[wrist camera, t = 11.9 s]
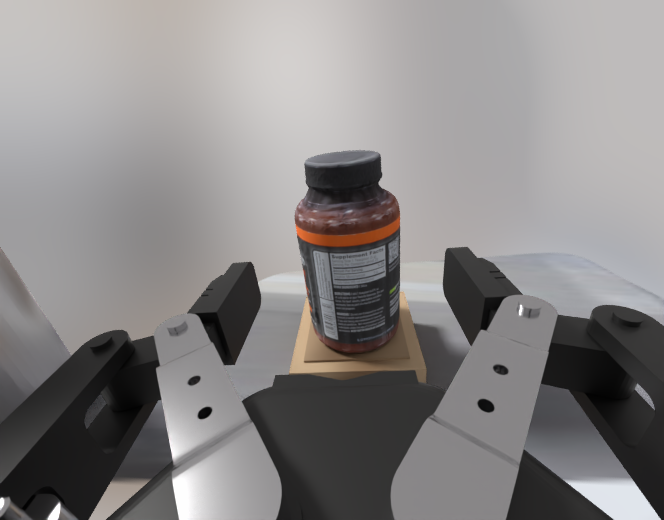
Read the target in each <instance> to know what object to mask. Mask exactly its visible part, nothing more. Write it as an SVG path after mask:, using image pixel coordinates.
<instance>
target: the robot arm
mask: <svg viewBox="0 0 664 520" xmlns="http://www.w3.org/2000/svg"><path fill="white" fill-rule="evenodd" d="M443 290H444V295H445V297H446V299H447V301H448V303H449V305H450V307H451V309H452V311H453V313H454V315H455V317H456V319H457V320H458V322H459V324H460V326H461V328H462V330H463V332H464V334H465V336H466V338H467V340H468V342H469V343H470V345H471V348H470V350H469V352H468V354H467V355H466V357H465V359H464V361H463V363H462V364H461V366H460V368H459V370H458V372H457V373H456V375H455V377H454V379H453V381H452V382H451V384H450V386H449V388H448V390H447V391H445V390H443V389H441V388H438V387H436V386H433V385H430V384H427V383H423V382H418V379H417V375H416V371H415V370H406V371H380V372H376V373H372V374H368V375H364V376H360V377H356V378H352V379H348V380H338V379H333V378H327V377H322V376H316V375H311V374H297V375H275V379H274V383H273V386H272V387H269V388H266V389H264V390H261V391H259V392H256V393H254V394H252V395H251V396H249V397H247V398H246V399H244V400H243V401H241V399H240V397H239V395H238V393H237V391H236V389H235V387H234V385H233V383H232V381H231V379H230V377H229V375H228V373H227V370H226V368H225V366H224V365H235V363H236V360H237V358H238V356H239V354H240V351H241V349H242V347H243V345H244V342H245V340H246V338H247V335H248V333H249V331H250V329H251V326H252V324H253V322H254V320H255V317H256V315H257V313H258V311H259V308H260V305H261V294H260V289H259V285H258V281H257V277H256V274H255V269H254V266H253V264H252V263H251V262H243V263H233V264H232V265H231V266H230V267H229V269H228V270H227V271H226V273H225V274H224V275H221V276H219V277H218V278H216V279H215V280H214V281H212V282H211V283H210V285H209V286H208V287H207V289H206V291H204V292H203V293H202V295H201V297H199V299H198V300H197V301H196V302H195V304H194V305H193V306H192V308H191V309H190V310H189V311H188V313H187V314H181V315H177V316H175V317H172V318H170V319H168V320H166V321H165V322H163V323H162V324H160V325H159V326H158V327H157V329H156V330H155V332H154V336H150V337H146V338H143V339H139V340H135V341H131V339H130V337H129V335H128V333H127V332H126V331H123V330H114V331H110V332H106V333H103V334H101V335H98V336H96V337H94V338H92V339H91V340H89V341H88V342H86V343H85V344H84V345H82V346H81V347H80V348H79V349H78V350H77V351H76V352H75V353H74V354H73V355H71V354H70V352H69V351H68V349H67V347H66V346H65V345H64V343H63V341H62V340H61V338H60V337H59V335H58V334H57V332H56V330H55V329H54V327H53V326H52V324H51V323H50V321H49V320H48V318H47V317H46V315H45V314H44V312H43V311H42V309H41V308H40V306H39V305H38V303H37V302H36V300H35V299H34V297H33V296H32V294H31V293H30V291H29V290H28V288H27V287H26V285H25V283H24V282H23V280H22V279H21V277H20V276H19V275H18V273H17V271H16V270H15V268H14V267H13V266H12V264H11V263H10V261H9V259H8V258H7V257H6V255H5V253H4V252H3V250H2V249H1V248H0V520H88V519H89V518H90V516H91V514H92V513H93V511H94V509H95V508H96V506H97V504H98V502H99V501H100V499H101V497H102V496H103V494H104V492H105V491H106V489H107V487H108V485H109V484H110V482H111V480H112V479H113V477H114V475H115V473H116V472H117V470H118V468H119V467H120V465H121V463H122V461H123V460H124V458H125V456H126V455H127V453H128V451H129V450H130V448H131V446H132V444H133V443H134V441H135V439H136V438H137V436H138V434H139V432H140V431H141V429H142V427H143V426H144V424H145V422H146V420H147V419H148V417H149V415H150V414H151V412H152V410H153V409H154V407H155V405H156V403H157V401H158V400H162V404H163V410H164V415H165V420H166V426H167V431H168V437H169V442H170V447H171V453H172V458H173V461H172V462H171V463H170V464H169V465H168V466H166V467H165V468H164V469H163V470H162V471H161V472H160V473H158V474H157V475H156V476H155V477H154V478H153V479H152V480H150V481H149V482H148V483H147V484H146V485H145V486H144V487H143V488H141V489H140V490H139V491H138V492H137V493H136V494H135V495H134V496H132V497H131V498H130V499H129V500H128V501H127V502H125V503H124V504H123V505H122V506H121V507H120V508H119V509H117V510H116V511H115V512H114V513H113V514H112V515H111V516H110V517H108V518H107V519H106V520H613V519H612V518H611V517H610V516H608V515H607V514H606V513H604V512H603V511H602V510H601V509H599V508H598V507H597V506H596V505H594V504H593V503H592V502H590V501H589V500H588V499H587V498H585V497H584V496H583V495H581V494H580V493H579V492H578V491H576V490H575V489H574V488H573V487H571V486H570V485H569V484H568V483H566V482H565V481H564V480H562V479H561V478H560V477H559V476H557V475H556V474H555V473H553V472H552V471H551V470H550V469H548V468H547V467H546V466H545V465H543V464H542V463H541V462H539V461H538V460H537V459H536V458H534V457H533V456H532V455H531V454H529V453H528V452H527V451H525V450H524V445H525V441H526V438H527V434H528V430H529V426H530V422H531V418H532V414H533V411H534V407H535V403H536V399H537V395H538V391H539V388H540V384H545V385H550V386H554V387H559V388H564V389H569V391H570V392H571V394H572V395H573V396H574V398H575V399H576V401H577V402H578V403H579V405H580V406H581V408H582V409H583V410H584V412H585V413H586V415H587V416H588V417H589V419H590V420H591V422H592V423H593V424H594V426H595V427H596V429H597V430H598V431H599V433H600V434H601V436H602V437H603V439H604V440H605V441H606V443H607V444H608V446H609V447H610V448H611V450H612V451H613V453H614V454H615V455H616V457H617V458H618V460H619V461H620V462H621V464H622V465H623V467H624V468H625V469H626V471H627V472H628V474H629V475H630V476H631V478H632V479H633V481H634V482H635V483H636V485H637V486H638V488H639V489H640V490H641V492H642V493H643V495H644V496H645V497H646V499H647V500H648V502H649V503H650V504H651V506H652V507H653V509H654V510H655V512H656V513H657V514H658V516H659V517H660V518H661V520H664V326H663V325H662V324H660V323H659V322H658V321H656V320H655V319H653V318H652V317H650V316H648V315H646V314H644V313H642V312H639V311H637V310H634V309H630V308H626V307H622V306H615V305H602V306H598V307H596V308H594V309H593V311H592V313H591V316H590V319H585V318H578V317H570V316H563V315H558V313H557V310H556V309H555V308H554V307H553V306H552V305H551V304H550V303H548V302H546V301H544V300H542V299H539V298H537V297H533V296H528V295H523V294H522V293H521V292H520V291H519V290H518V289H517V288H516V287H515V286H514V285H513V284H512V283H511V282H510V280H509V279H508V278H506V276H505V275H504V274H503V273H502V272H500V270H499V269H498V268H497V267H496V266H495V265H494V264H493V263H491V262H489V261H487V260H485V259H483V258H477V257H476V256H475V255H474V254H473V253H472V251H470V249H469V248H468V247H459V248H448V249H447V250H446V252H445V263H444V276H443ZM637 383H638V384H639V385H640V386H641V387H642V388H643V389H644V390H645V391H646V392H647V393H648V395H649V396H650V398H651V399H652V401H653V404H654V407H655V411H654V409H653V408H652V407H651V406H650V405H649V404H648V403H647V402H646V401H645V400H644V399H643V398H642V397H641V396H640V395H639V394H638V393H637V392H636V390H635V387H636V385H637ZM100 393H101V395H102V396H103V398H104V399H105V401H106V403H107V404H106V405H105V406H104V408H103V409H102V410H101V412H100V413H99V414H98V416H97V417H96V418H95V420H94V421H93V422H92V423H91V425H90V426H89V427H88V429H86V427H85V424H84V418H85V414H86V412H87V410H88V408H89V407H90V405H91V404H92V403H93V402H94V400H95V399H96V398H97V397H98V396H99V394H100Z"/></svg>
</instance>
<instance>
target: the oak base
mask: <svg viewBox="0 0 664 520" xmlns="http://www.w3.org/2000/svg"><path fill="white" fill-rule="evenodd" d="M406 370H415V371H416V375H417V379H418V382H423V383H426V372H427V368H426V365H425V362H424V358H423V355H422V352H421V348H420V345H419V341H418V338H417V335H416V331H415V328H414V324H413V321H412V318H411V314H410V311H409V307H408V304H407V301H406V297H405V294H404V292H400V316H399V325H398V328H397V331H396V333H395V335H394V336H393V337H392V338H391V339H390V340H389V341H388V342H387V343H386V344H384V345H383V346H381V347H379V348H377V349H374V350H370V351H366V352H360V353H357V352H356V353H348V352H342V351H338V350H335V349H333V348H331V347H328V346H327V345H325V344H324V343H323V342H321V341H320V340H319V338H318V337H317V335H316V333H315V331H314V328H313V323H312V320H311V315H310V307H309V301H308V297H306V301H305V305H304V310H303V314H302V318H301V323H300V327H299V332H298V336H297V340H296V345H295V349H294V353H293V358H292V362H291V367H290V371H289V375H297V374H311V375H316V376H322V377H327V378H333V379H338V380H348V379H352V378H356V377H360V376H364V375H368V374H372V373H376V372H380V371H406Z"/></svg>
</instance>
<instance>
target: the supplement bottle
mask: <svg viewBox="0 0 664 520" xmlns="http://www.w3.org/2000/svg"><path fill="white" fill-rule="evenodd" d="M305 175H306V184H307V185H308V187H309V189H308V192H307V194H306V196H305V198H304V199H302V200H301V202H300V203H299V205H298V206H297V208H296V210H295V224H296V229H297V238H298V243H299V249H300V255H301V261H302V265H303V271H304V277H305V283H306V289H307V296H308V301H309V307H310V315H311V320H312V323H313V328H314V331H315V333H316V335H317V337H318V338H319V340H320V341H321V342H323V343H324V344H325V345H327V346H328V347H331V348H333V349H335V350H338V351H342V352H348V353H356V352H357V353H360V352H366V351H370V350H374V349H377V348H379V347H381V346H383V345H384V344H386V343H387V342H388V341H389V340H390V339H391V338H392V337H393V336H394V335H395V333H396V331H397V328H398V325H399V316H400V211H399V204H398V201H397V199H396V198H395V196H394V195H392V194H391V193H390V192H389V191H386V190H385V189H382V188H381V187H380V186H379V184H378V182H379V180H380V178H381V177H382V172H381V157H380V154H379V153H378V152H374V151H365V150H356V151H343V152H334V153H327V154H322V155H317V156H314V157H311V158H308V159H307V160H306V161H305Z"/></svg>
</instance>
